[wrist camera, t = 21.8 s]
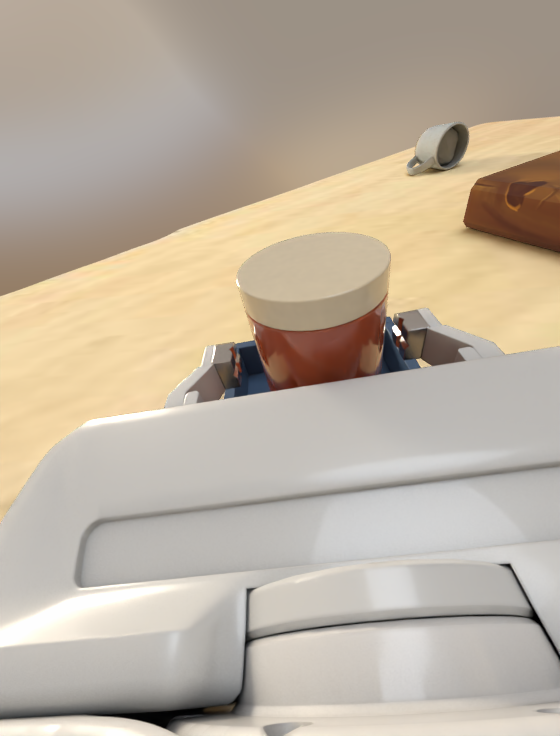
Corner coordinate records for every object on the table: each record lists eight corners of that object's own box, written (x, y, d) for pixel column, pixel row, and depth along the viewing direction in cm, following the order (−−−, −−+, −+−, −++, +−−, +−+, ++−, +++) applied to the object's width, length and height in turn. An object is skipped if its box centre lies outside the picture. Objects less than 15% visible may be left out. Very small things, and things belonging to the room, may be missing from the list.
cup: (389, 466, 16) (418, 280, 9) (287, 479, 17) (229, 315, 9) (362, 390, 21) (366, 222, 13) (282, 403, 21) (239, 248, 13)
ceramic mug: (437, 161, 67) (443, 119, 62) (465, 164, 61) (474, 117, 56) (397, 174, 66) (400, 132, 61) (421, 178, 60) (427, 132, 55)
